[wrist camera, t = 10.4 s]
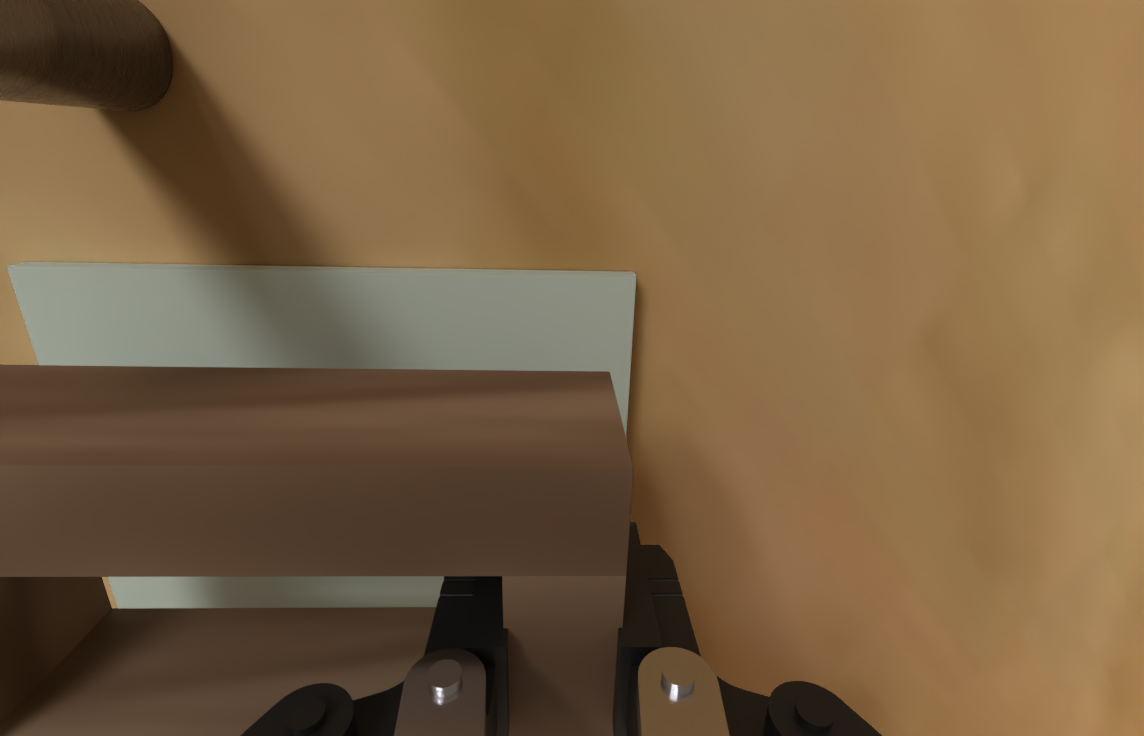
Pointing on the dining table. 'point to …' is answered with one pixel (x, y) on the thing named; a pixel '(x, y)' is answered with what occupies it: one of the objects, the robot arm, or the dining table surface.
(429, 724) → the robot arm
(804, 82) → the dining table surface
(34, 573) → the brown wooden open frame
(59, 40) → the dark grey rounded cylinder
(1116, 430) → the dining table surface
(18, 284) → the mat
